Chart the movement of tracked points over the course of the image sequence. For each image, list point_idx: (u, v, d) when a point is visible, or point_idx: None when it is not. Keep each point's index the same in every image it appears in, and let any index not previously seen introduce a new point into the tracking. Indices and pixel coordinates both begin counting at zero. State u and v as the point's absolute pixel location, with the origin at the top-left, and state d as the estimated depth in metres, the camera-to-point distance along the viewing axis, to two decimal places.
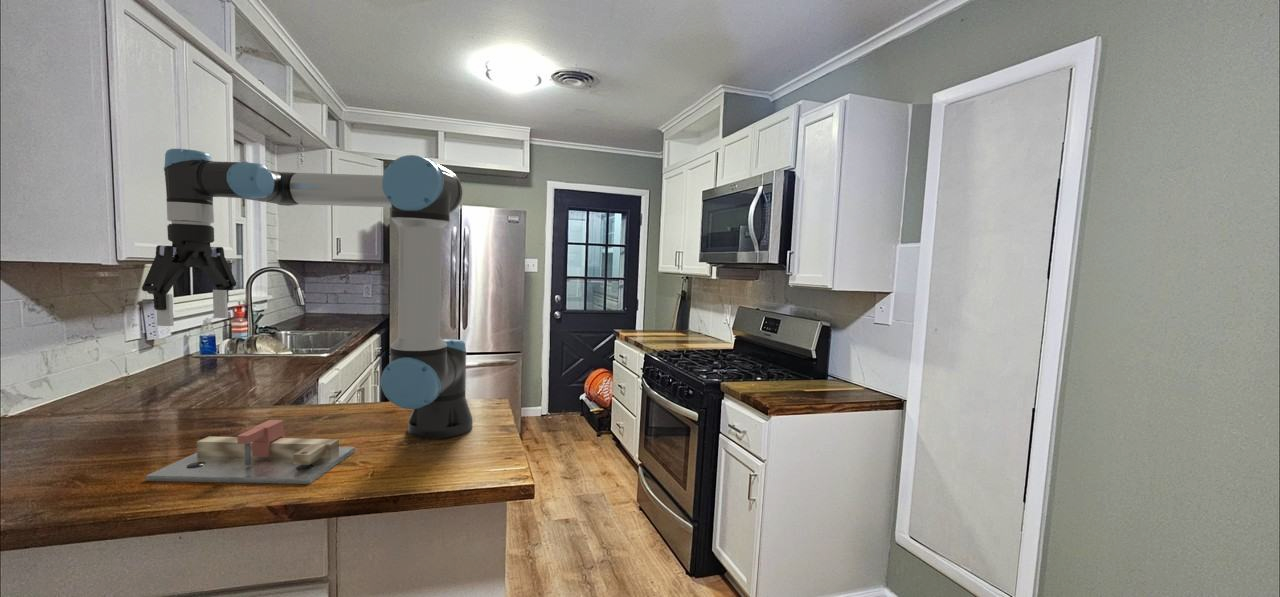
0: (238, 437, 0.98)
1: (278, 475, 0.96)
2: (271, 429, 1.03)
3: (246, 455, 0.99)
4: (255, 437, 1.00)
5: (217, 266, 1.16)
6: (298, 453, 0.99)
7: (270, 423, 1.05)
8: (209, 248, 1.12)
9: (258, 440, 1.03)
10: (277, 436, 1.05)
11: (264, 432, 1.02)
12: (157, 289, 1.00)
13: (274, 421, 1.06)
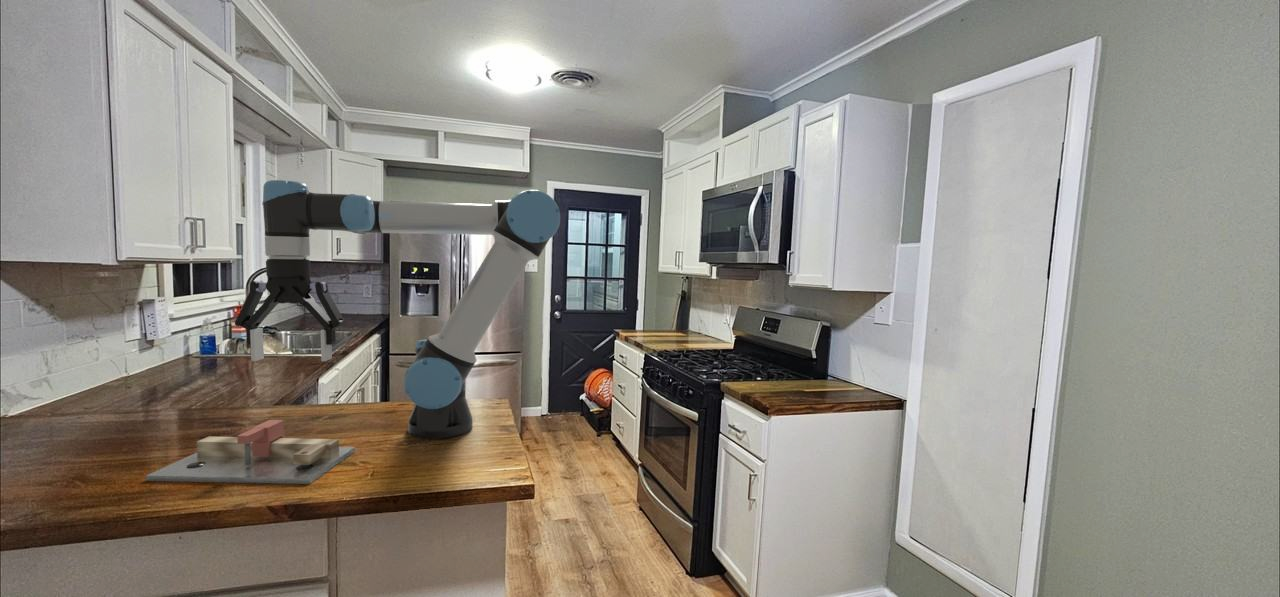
0: (238, 437, 0.98)
1: (278, 475, 0.96)
2: (271, 429, 1.03)
3: (246, 455, 0.99)
4: (255, 437, 1.00)
5: None
6: (298, 453, 0.99)
7: (270, 423, 1.05)
8: (302, 283, 1.03)
9: (258, 440, 1.03)
10: (277, 436, 1.05)
11: (264, 432, 1.02)
12: (237, 324, 1.02)
13: (274, 421, 1.06)
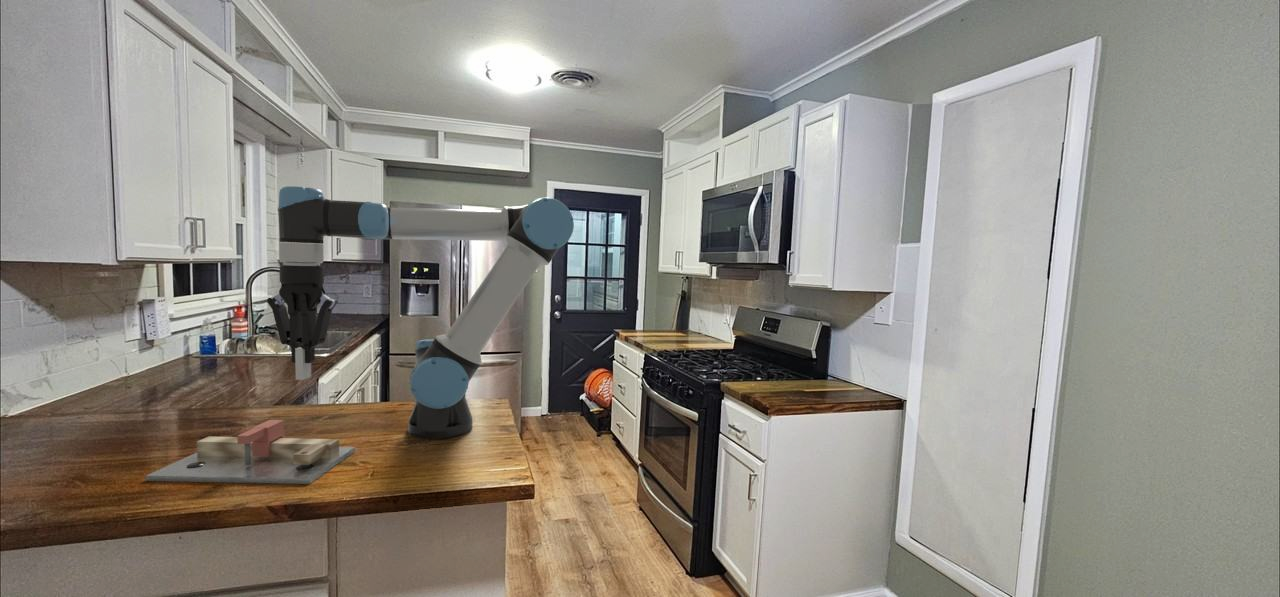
0: (238, 437, 0.98)
1: (278, 475, 0.96)
2: (271, 429, 1.03)
3: (246, 455, 0.99)
4: (255, 437, 1.00)
5: None
6: (298, 453, 0.99)
7: (270, 423, 1.05)
8: (316, 291, 1.02)
9: (258, 440, 1.03)
10: (277, 436, 1.05)
11: (264, 432, 1.02)
12: (284, 342, 1.02)
13: (274, 421, 1.06)
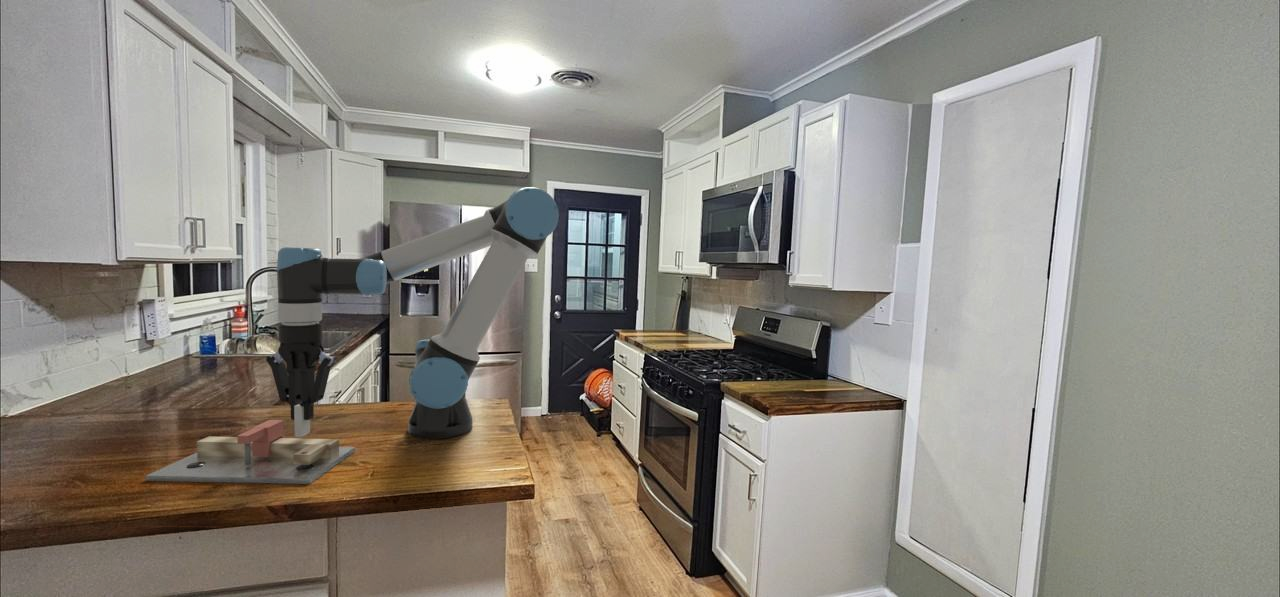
0: (238, 437, 0.98)
1: (278, 475, 0.96)
2: (271, 429, 1.03)
3: (246, 455, 0.99)
4: (255, 437, 1.00)
5: None
6: (298, 453, 0.99)
7: (270, 423, 1.05)
8: (315, 350, 1.03)
9: (258, 440, 1.03)
10: (277, 436, 1.05)
11: (264, 432, 1.02)
12: (283, 399, 1.03)
13: (274, 421, 1.06)
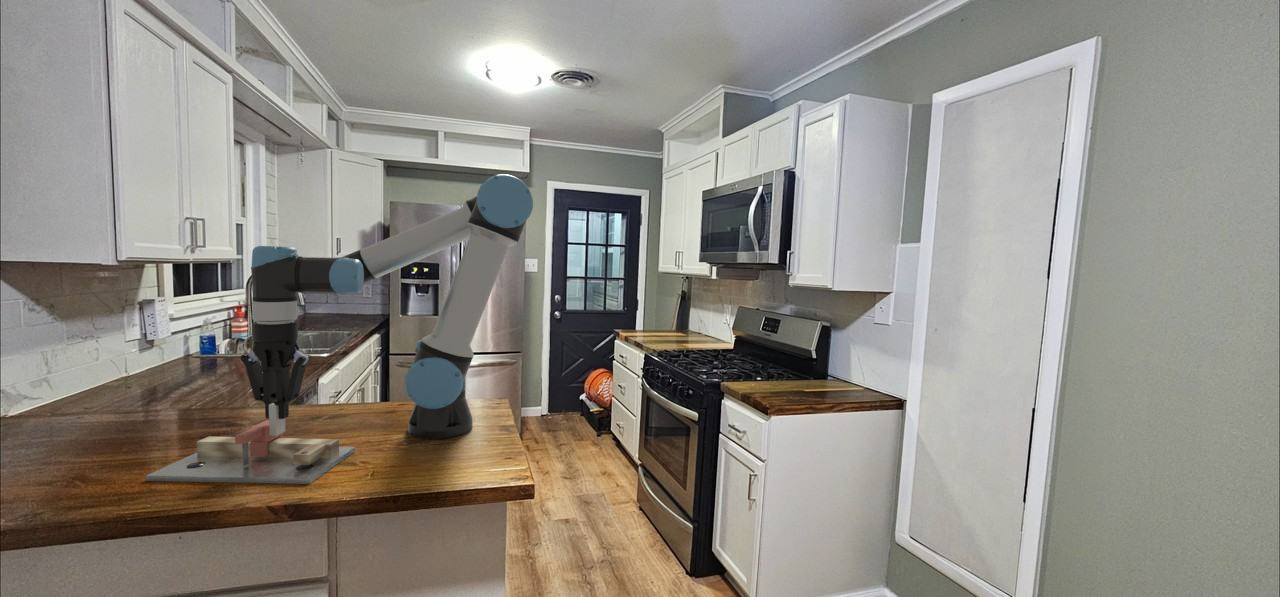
0: (236, 437, 0.98)
1: (278, 475, 0.96)
2: (268, 429, 1.03)
3: (244, 455, 0.99)
4: (253, 437, 1.00)
5: None
6: (298, 453, 0.99)
7: (268, 423, 1.05)
8: (289, 348, 1.03)
9: (256, 440, 1.03)
10: (275, 436, 1.05)
11: (262, 432, 1.02)
12: (257, 398, 1.03)
13: None
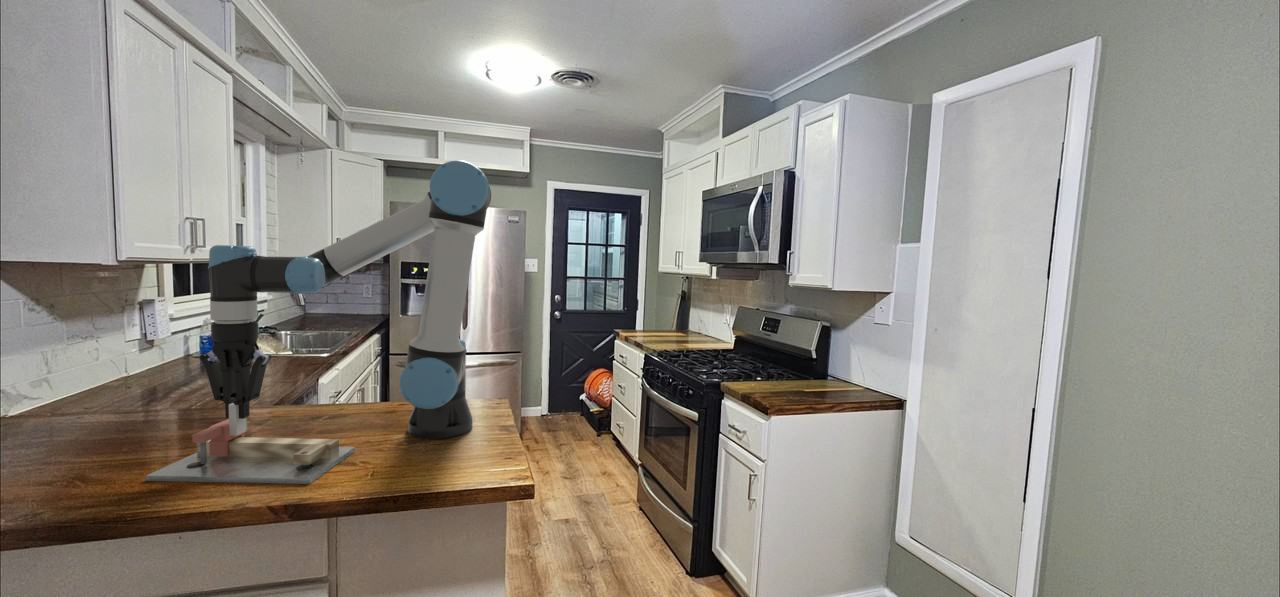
0: (193, 436, 0.97)
1: (278, 475, 0.96)
2: (228, 429, 1.03)
3: (202, 454, 0.99)
4: (211, 436, 1.00)
5: None
6: (298, 453, 0.99)
7: (228, 422, 1.05)
8: (249, 348, 1.02)
9: (215, 439, 1.02)
10: None
11: (222, 431, 1.02)
12: (217, 398, 1.03)
13: None
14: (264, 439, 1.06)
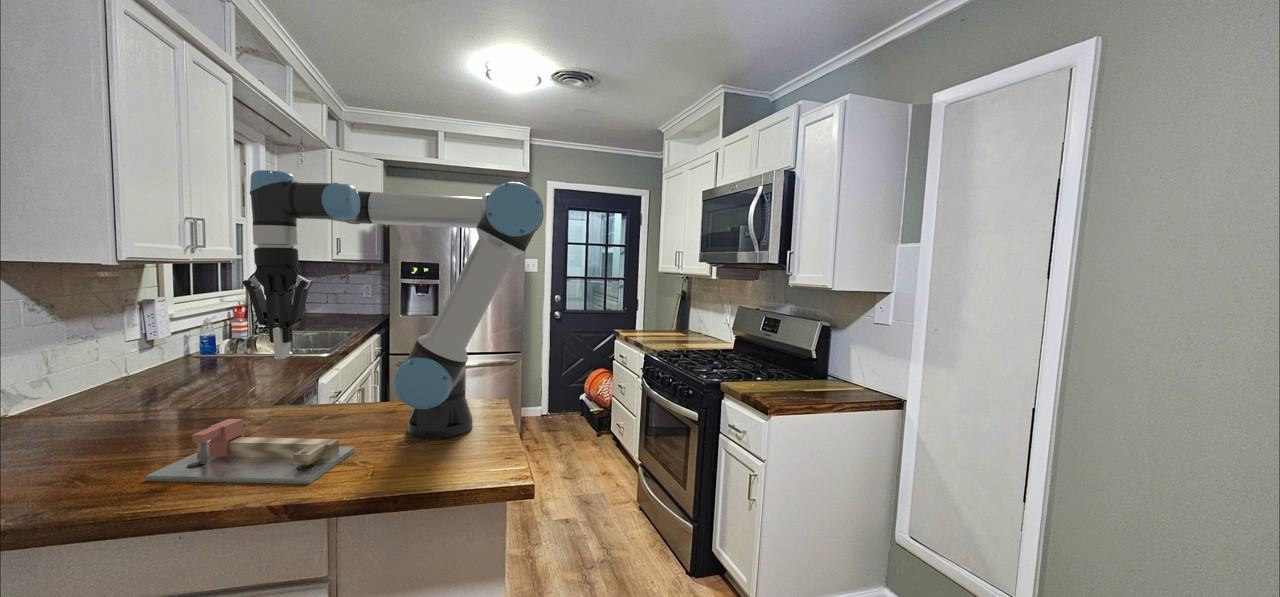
0: (193, 436, 0.97)
1: (278, 475, 0.96)
2: (228, 429, 1.03)
3: (202, 454, 0.99)
4: (211, 436, 1.00)
5: None
6: (298, 453, 0.99)
7: (228, 422, 1.05)
8: (291, 272, 1.05)
9: (215, 439, 1.02)
10: (235, 435, 1.05)
11: (222, 431, 1.02)
12: (261, 322, 1.05)
13: (233, 420, 1.06)
14: (264, 439, 1.06)
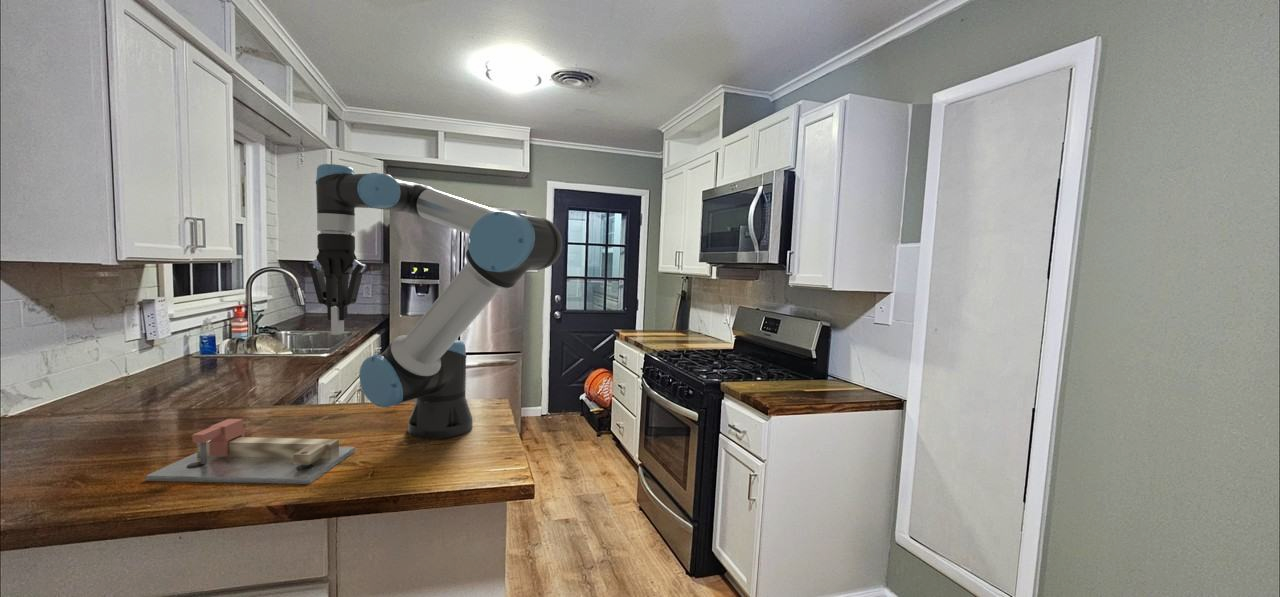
0: (193, 436, 0.97)
1: (278, 475, 0.96)
2: (228, 429, 1.03)
3: (202, 454, 0.99)
4: (211, 436, 1.00)
5: None
6: (298, 453, 0.99)
7: (228, 422, 1.05)
8: (349, 257, 1.16)
9: (215, 439, 1.02)
10: (235, 435, 1.05)
11: (222, 431, 1.02)
12: (321, 301, 1.17)
13: (233, 420, 1.06)
14: (264, 439, 1.06)
